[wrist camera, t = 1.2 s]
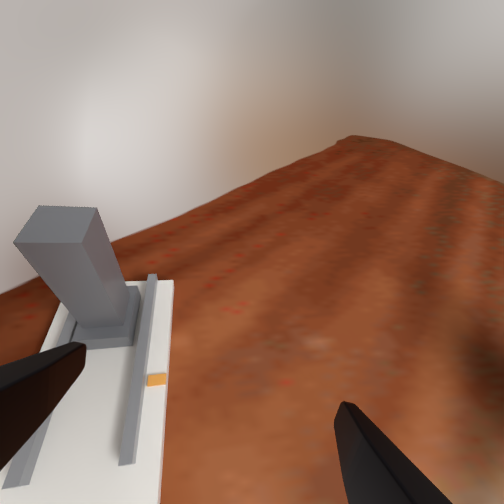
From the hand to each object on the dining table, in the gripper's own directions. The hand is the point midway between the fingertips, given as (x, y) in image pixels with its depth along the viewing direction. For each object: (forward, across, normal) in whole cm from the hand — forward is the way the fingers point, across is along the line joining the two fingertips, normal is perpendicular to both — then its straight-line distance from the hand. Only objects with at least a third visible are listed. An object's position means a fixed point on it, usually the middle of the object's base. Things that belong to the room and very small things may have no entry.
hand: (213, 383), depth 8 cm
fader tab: (+13, +10, +7) cm, 18 cm away
